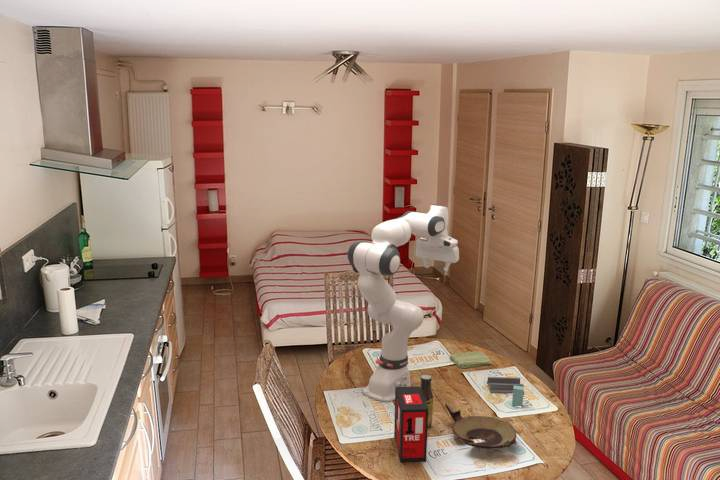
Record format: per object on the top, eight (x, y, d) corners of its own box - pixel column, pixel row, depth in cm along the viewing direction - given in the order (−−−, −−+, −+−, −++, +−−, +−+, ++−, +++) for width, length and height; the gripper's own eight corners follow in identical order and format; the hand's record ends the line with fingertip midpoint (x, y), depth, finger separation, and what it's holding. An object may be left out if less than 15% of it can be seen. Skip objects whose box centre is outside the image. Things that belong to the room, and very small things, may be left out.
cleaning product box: (394, 436, 220) (395, 386, 216) (417, 435, 221) (419, 386, 216) (400, 462, 204) (402, 410, 200) (426, 461, 205) (428, 409, 200)
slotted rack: (490, 393, 253) (491, 385, 252) (486, 382, 263) (487, 375, 262) (523, 394, 253) (524, 386, 252) (518, 383, 262) (519, 376, 262)
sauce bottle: (427, 431, 224) (429, 382, 219) (412, 426, 227) (414, 378, 223) (435, 423, 229) (436, 375, 225) (420, 418, 233) (422, 371, 228)
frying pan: (474, 466, 203) (475, 446, 201) (434, 422, 230) (435, 404, 229) (529, 454, 210) (531, 434, 208) (484, 412, 238) (485, 395, 236)
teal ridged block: (511, 406, 243) (513, 388, 241) (512, 402, 245) (513, 385, 244) (522, 408, 241) (523, 390, 240) (522, 404, 244) (523, 386, 242)
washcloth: (493, 366, 281) (494, 359, 280) (459, 370, 276) (460, 363, 275) (480, 354, 293) (481, 348, 292) (447, 358, 288) (448, 352, 287)
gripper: (413, 238, 270) (412, 267, 274) (455, 244, 260) (454, 274, 263) (419, 235, 276) (418, 264, 279) (461, 241, 265) (459, 271, 269)
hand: (436, 269), depth 271 cm, fingers open, 8 cm apart
